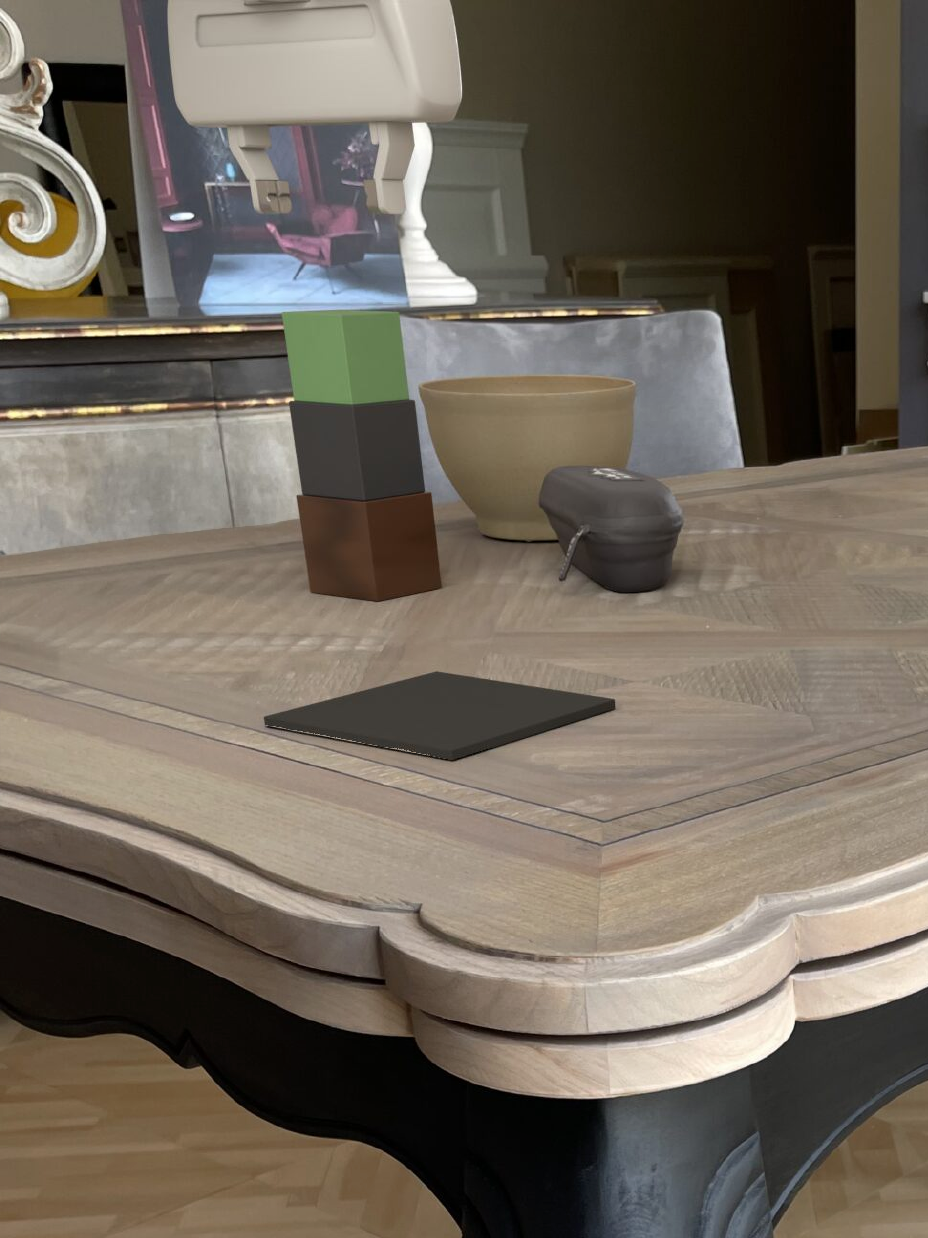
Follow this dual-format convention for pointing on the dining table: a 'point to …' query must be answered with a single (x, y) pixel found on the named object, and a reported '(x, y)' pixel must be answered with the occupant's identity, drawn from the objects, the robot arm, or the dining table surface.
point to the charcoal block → (358, 449)
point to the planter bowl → (524, 439)
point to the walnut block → (370, 546)
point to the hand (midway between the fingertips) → (329, 214)
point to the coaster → (442, 714)
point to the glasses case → (613, 525)
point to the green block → (346, 356)
